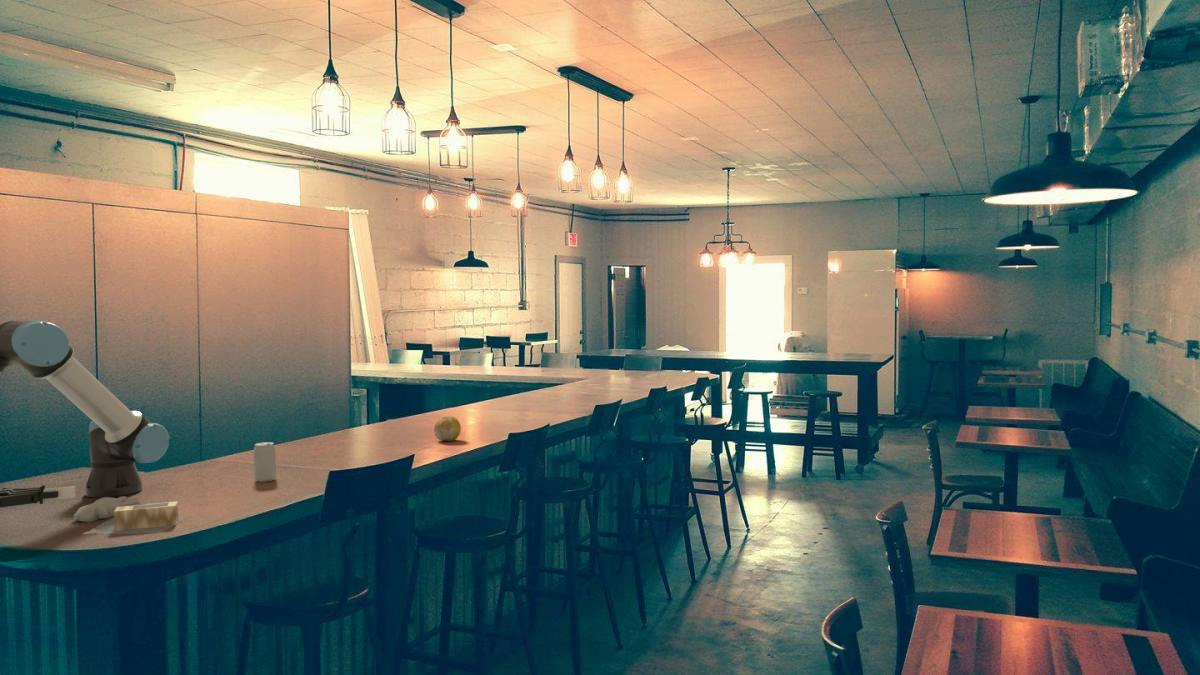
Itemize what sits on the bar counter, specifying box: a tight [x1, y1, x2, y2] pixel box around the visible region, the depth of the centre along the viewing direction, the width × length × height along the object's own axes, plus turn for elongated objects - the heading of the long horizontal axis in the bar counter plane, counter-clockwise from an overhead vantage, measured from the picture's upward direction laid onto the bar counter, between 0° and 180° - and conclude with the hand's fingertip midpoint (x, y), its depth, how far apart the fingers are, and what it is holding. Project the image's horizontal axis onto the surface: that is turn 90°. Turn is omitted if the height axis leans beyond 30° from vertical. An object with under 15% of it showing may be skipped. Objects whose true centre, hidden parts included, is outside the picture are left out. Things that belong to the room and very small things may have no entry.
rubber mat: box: [93, 516, 189, 535], centre depth 218 cm, size 20×15×1 cm
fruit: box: [433, 415, 462, 442], centre depth 339 cm, size 10×11×10 cm
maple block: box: [113, 500, 179, 531], centre depth 218 cm, size 5×5×14 cm
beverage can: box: [253, 441, 277, 483], centre depth 271 cm, size 6×6×12 cm
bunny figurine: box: [73, 495, 140, 523], centre depth 229 cm, size 10×5×15 cm
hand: (74, 491), depth 212 cm, fingers closed
